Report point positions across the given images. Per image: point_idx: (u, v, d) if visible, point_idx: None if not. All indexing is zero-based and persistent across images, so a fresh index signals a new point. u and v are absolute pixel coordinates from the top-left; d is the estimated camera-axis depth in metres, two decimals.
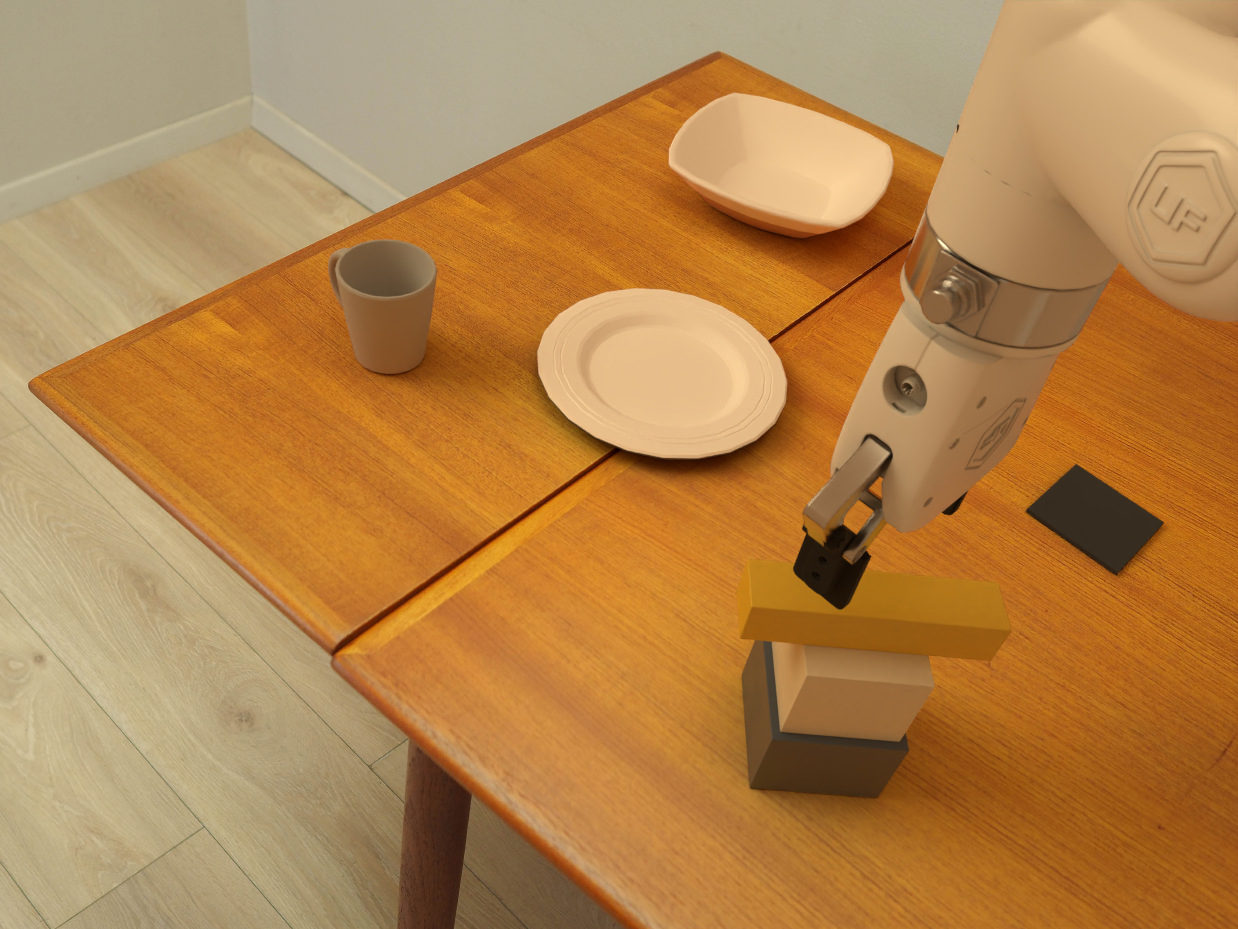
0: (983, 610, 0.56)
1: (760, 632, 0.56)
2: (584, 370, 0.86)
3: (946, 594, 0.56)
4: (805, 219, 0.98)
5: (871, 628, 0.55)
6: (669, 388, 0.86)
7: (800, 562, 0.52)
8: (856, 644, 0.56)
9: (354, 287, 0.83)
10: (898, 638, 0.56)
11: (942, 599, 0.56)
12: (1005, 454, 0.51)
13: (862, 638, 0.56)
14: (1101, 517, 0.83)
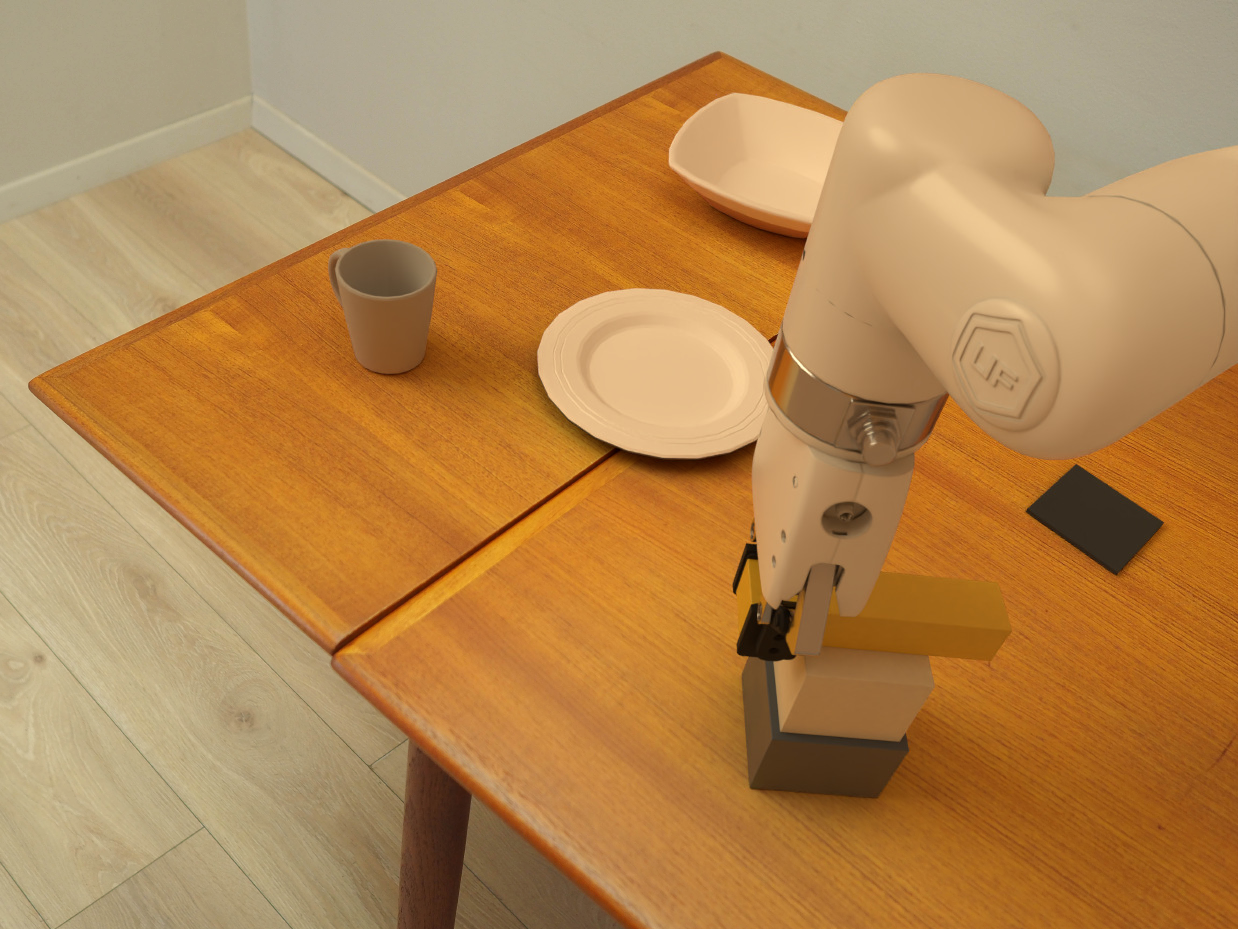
0: (983, 610, 0.56)
1: None
2: (584, 370, 0.86)
3: (946, 594, 0.56)
4: (805, 219, 0.98)
5: (871, 628, 0.55)
6: (669, 388, 0.86)
7: (744, 645, 0.56)
8: (856, 644, 0.56)
9: (354, 287, 0.83)
10: (898, 638, 0.56)
11: (942, 599, 0.56)
12: None
13: (862, 638, 0.56)
14: (1101, 517, 0.83)
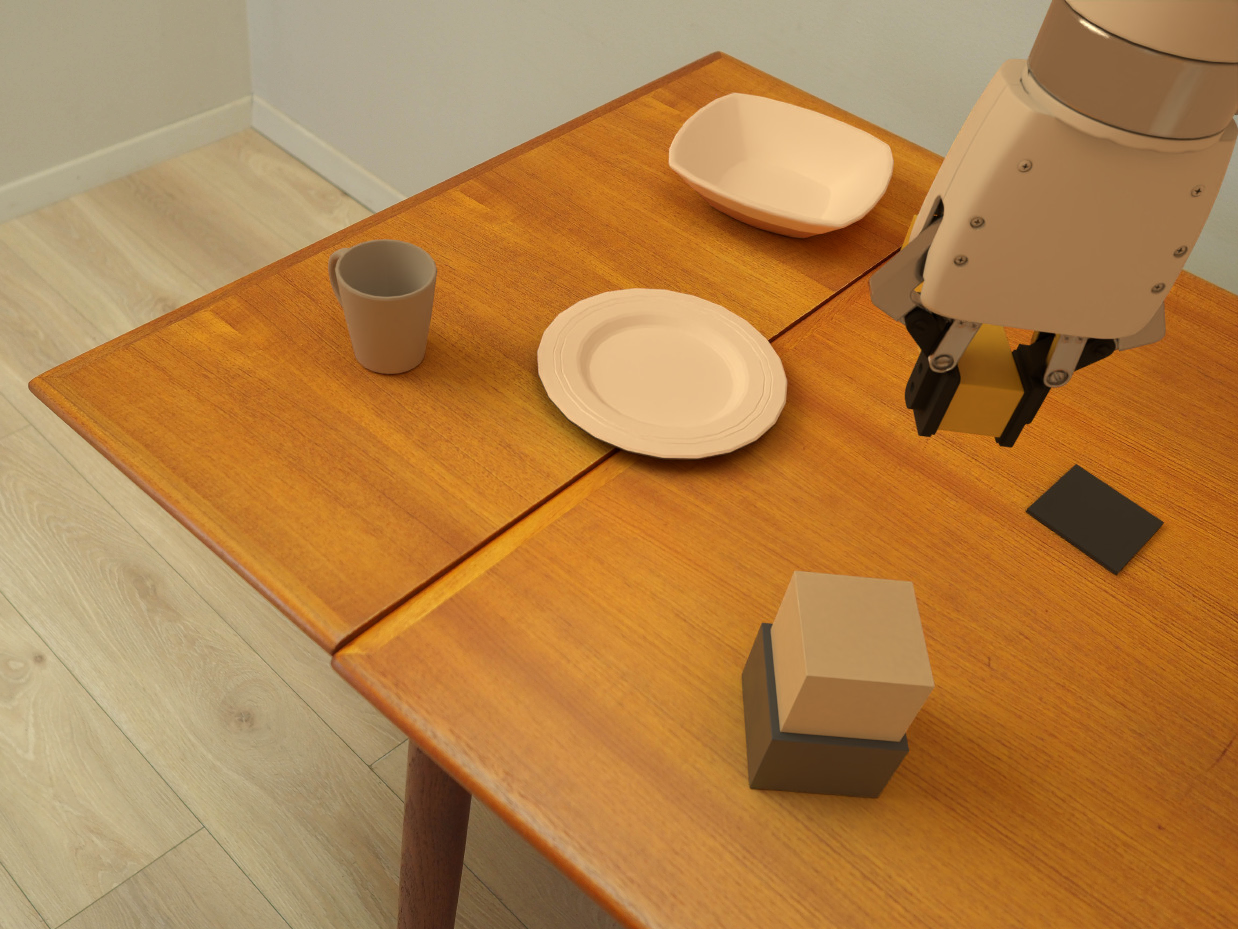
0: None
1: None
2: (584, 370, 0.86)
3: None
4: (805, 219, 0.98)
5: None
6: (669, 388, 0.86)
7: None
8: None
9: (354, 287, 0.83)
10: None
11: None
12: None
13: None
14: (1101, 517, 0.83)
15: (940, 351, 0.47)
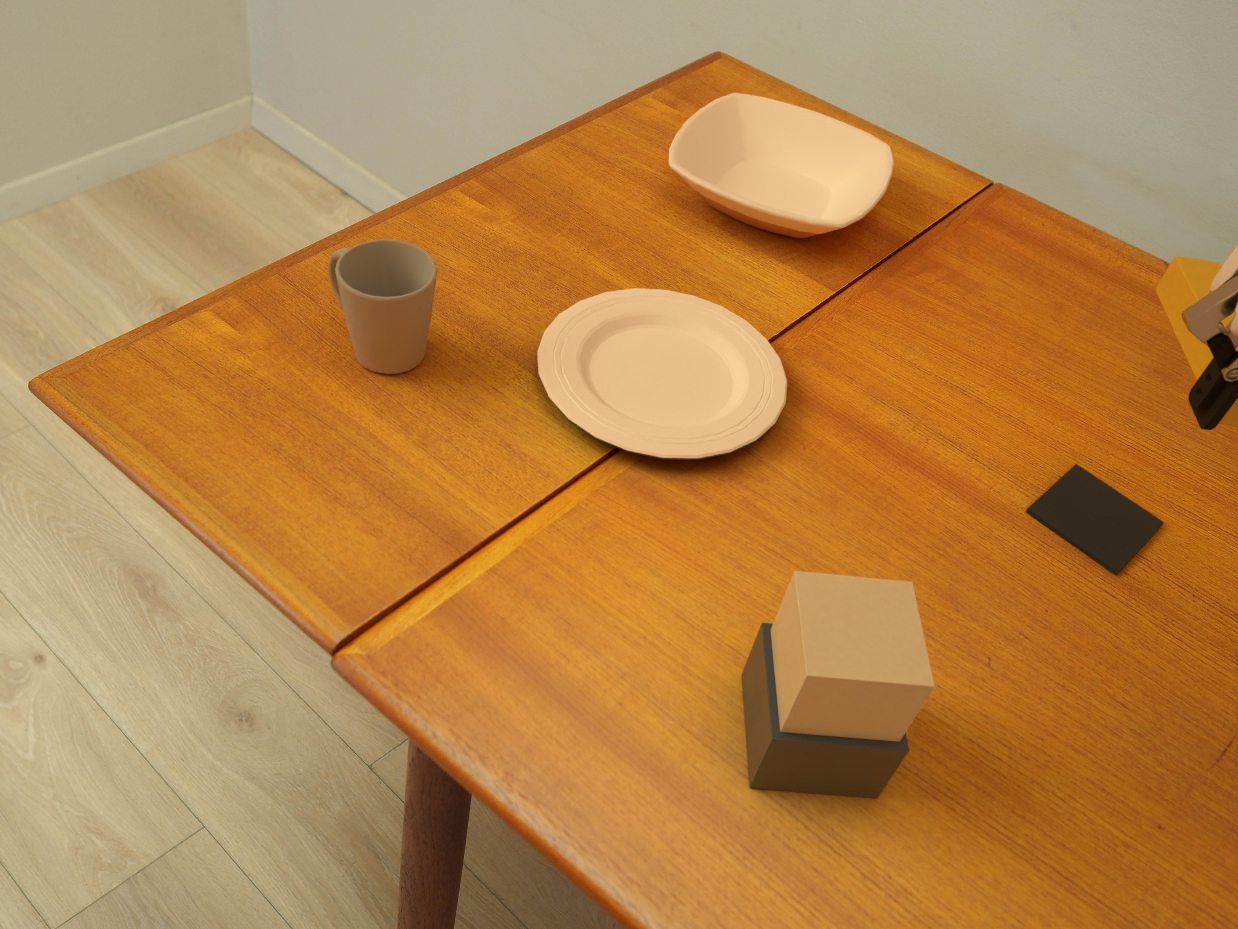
0: (1209, 270, 0.73)
1: None
2: (584, 370, 0.86)
3: (1206, 285, 0.72)
4: (805, 219, 0.98)
5: None
6: (669, 388, 0.86)
7: None
8: None
9: (354, 287, 0.83)
10: None
11: None
12: None
13: None
14: (1101, 517, 0.83)
15: (1234, 365, 0.63)
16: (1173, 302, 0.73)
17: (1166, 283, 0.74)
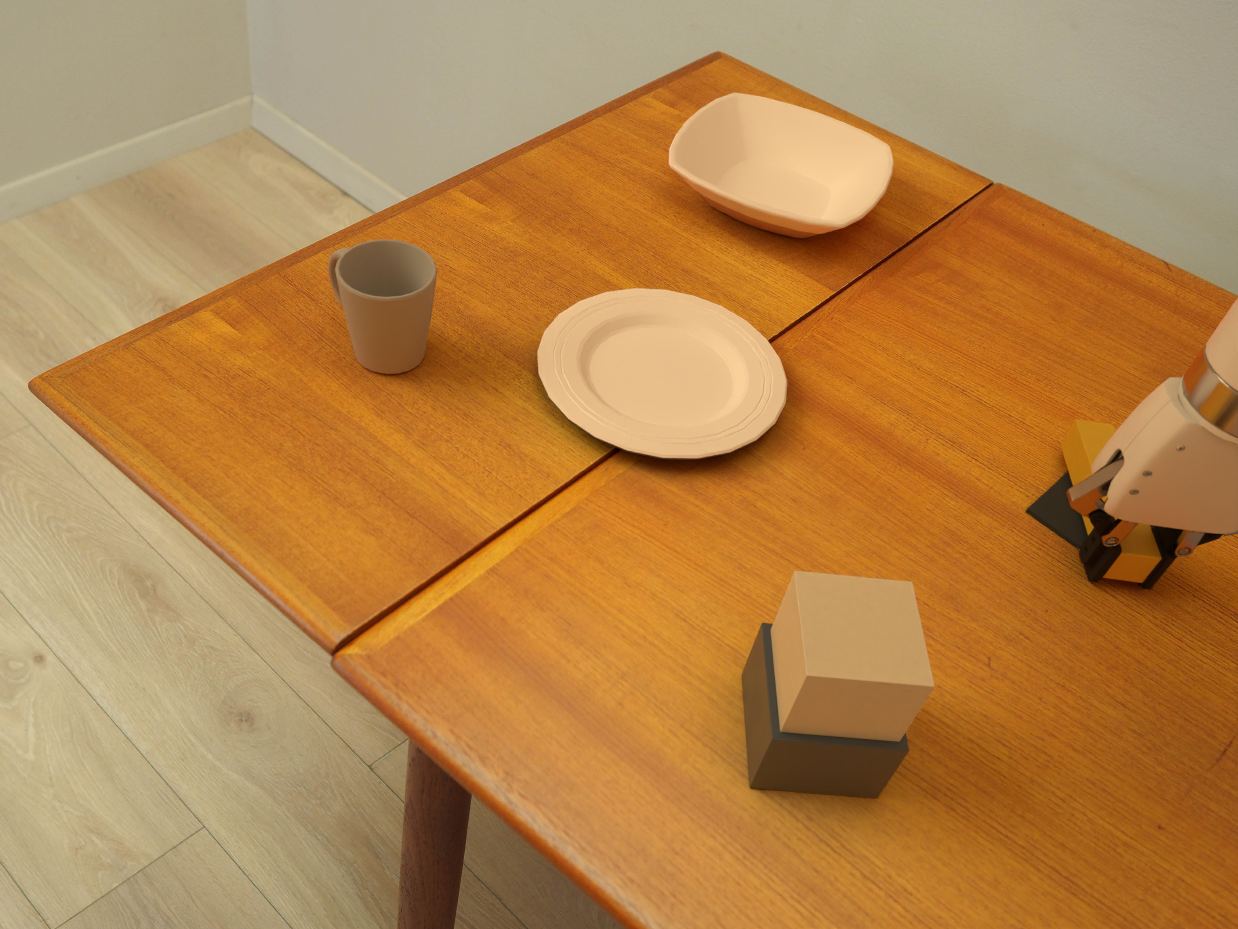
0: (1103, 433, 0.84)
1: None
2: (584, 370, 0.86)
3: (1099, 448, 0.83)
4: (805, 219, 0.98)
5: None
6: (669, 388, 0.86)
7: None
8: None
9: (354, 287, 0.83)
10: None
11: None
12: None
13: None
14: None
15: (1111, 535, 0.74)
16: (1073, 460, 0.85)
17: (1068, 442, 0.86)
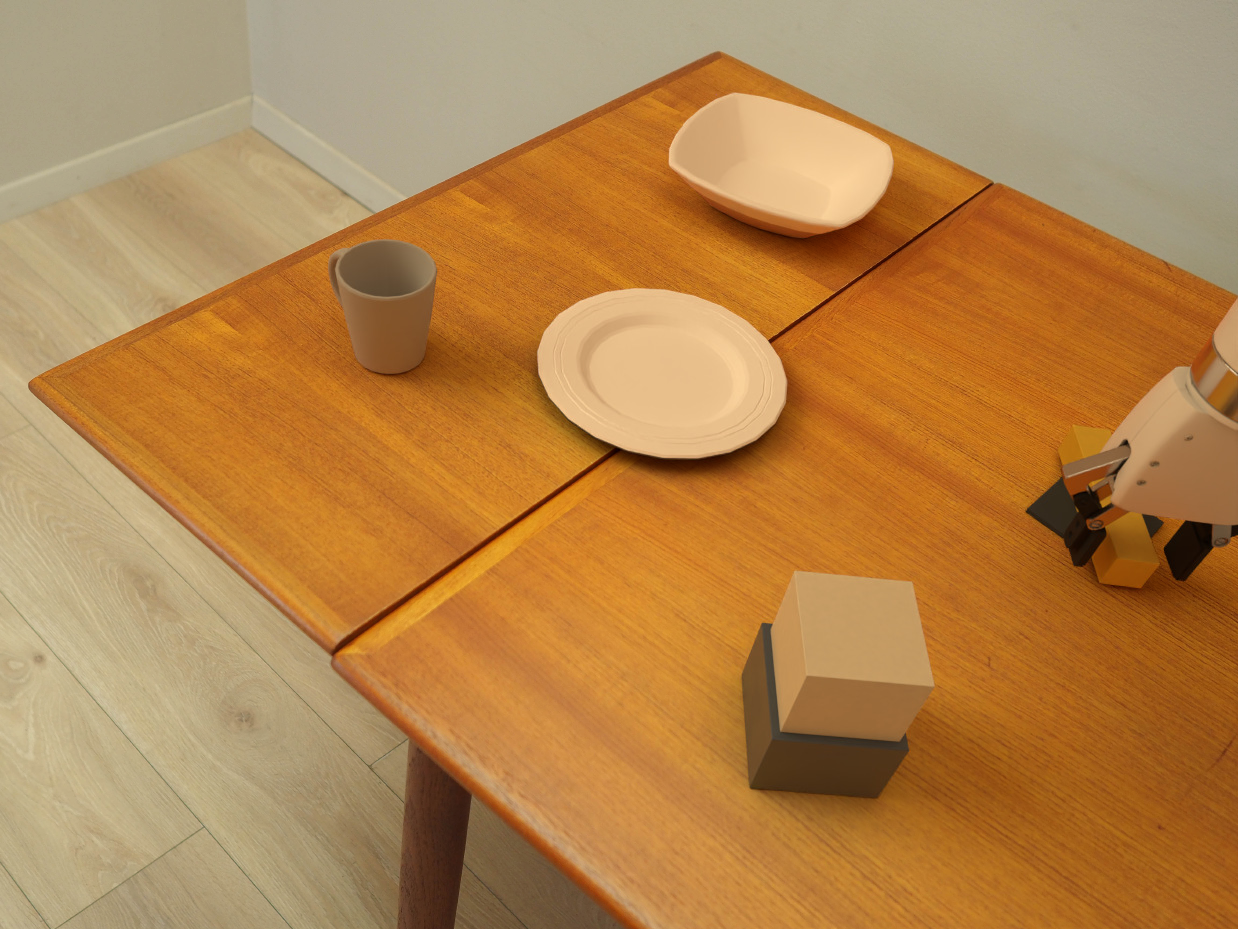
0: (1100, 439, 0.85)
1: None
2: (584, 370, 0.86)
3: None
4: (805, 219, 0.98)
5: None
6: (669, 388, 0.86)
7: None
8: None
9: (354, 287, 0.83)
10: None
11: None
12: None
13: None
14: None
15: (1099, 518, 0.73)
16: None
17: (1066, 447, 0.86)
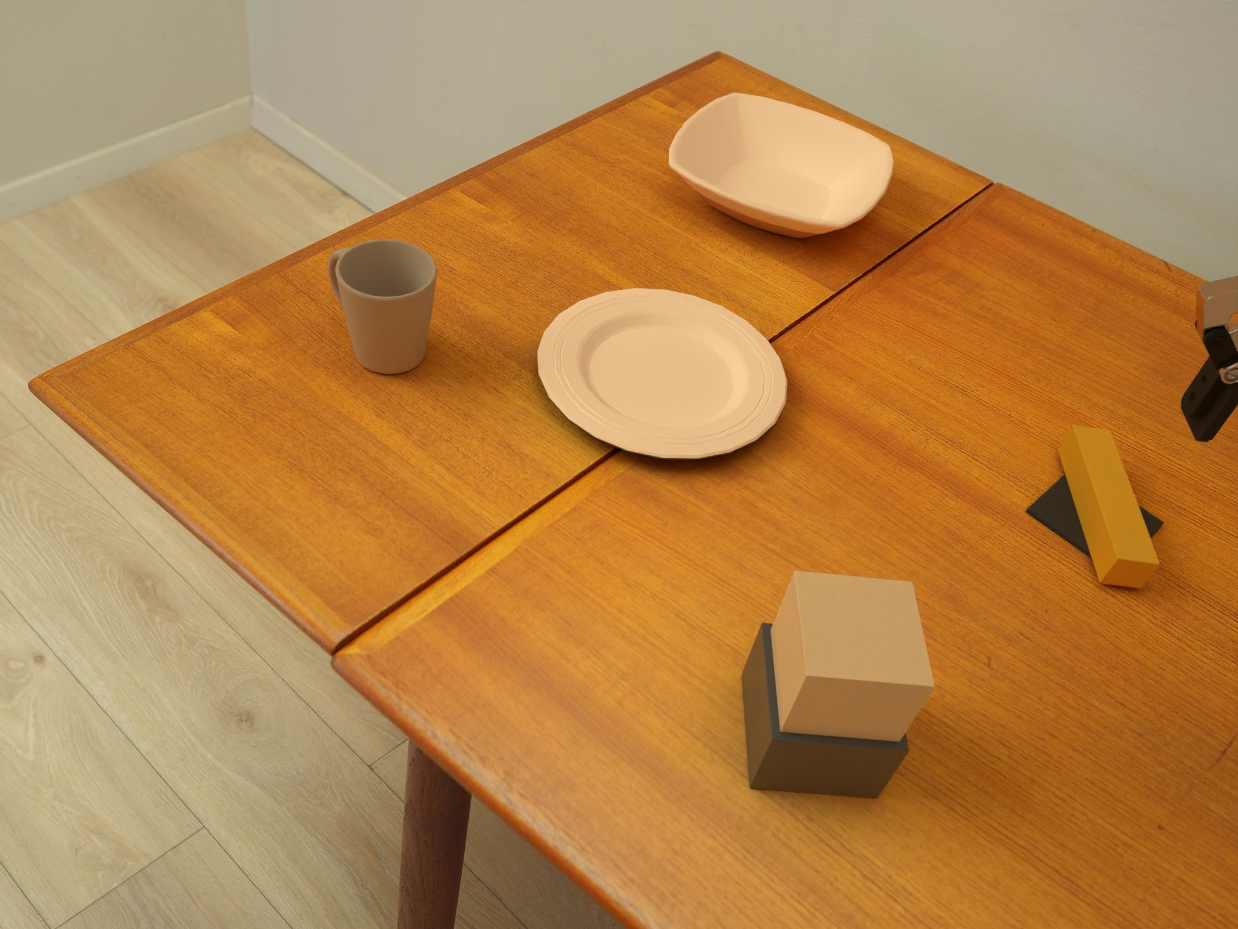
0: (1100, 439, 0.85)
1: None
2: (584, 370, 0.86)
3: (1097, 454, 0.83)
4: (805, 219, 0.98)
5: None
6: (669, 388, 0.86)
7: None
8: None
9: (354, 287, 0.83)
10: None
11: (1101, 457, 0.83)
12: None
13: None
14: None
15: None
16: (1070, 466, 0.85)
17: (1066, 447, 0.86)
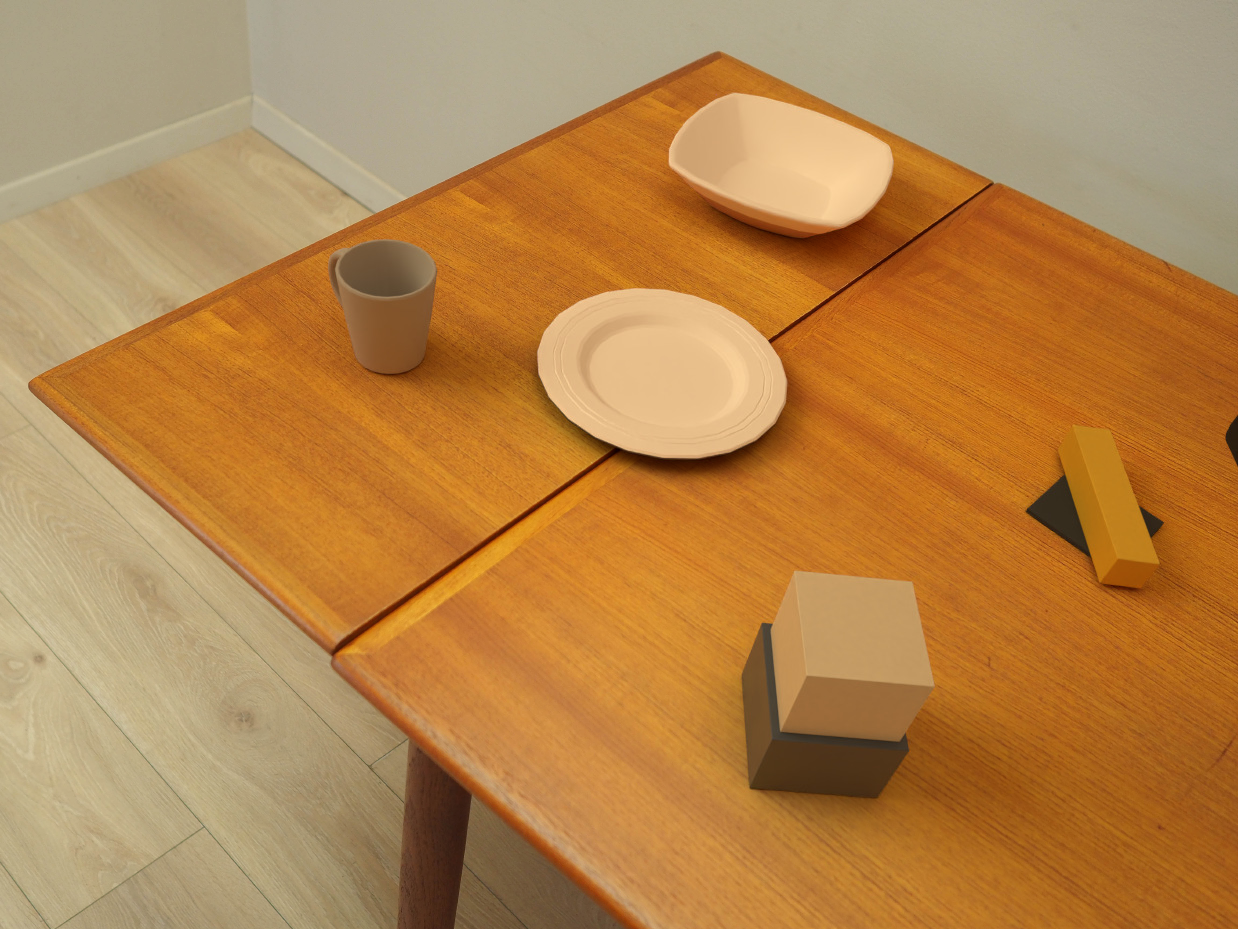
0: (1100, 439, 0.85)
1: None
2: (584, 370, 0.86)
3: (1097, 454, 0.83)
4: (805, 219, 0.98)
5: None
6: (669, 388, 0.86)
7: None
8: None
9: (354, 287, 0.83)
10: None
11: (1101, 457, 0.83)
12: None
13: None
14: None
15: None
16: (1070, 466, 0.85)
17: (1066, 447, 0.86)
